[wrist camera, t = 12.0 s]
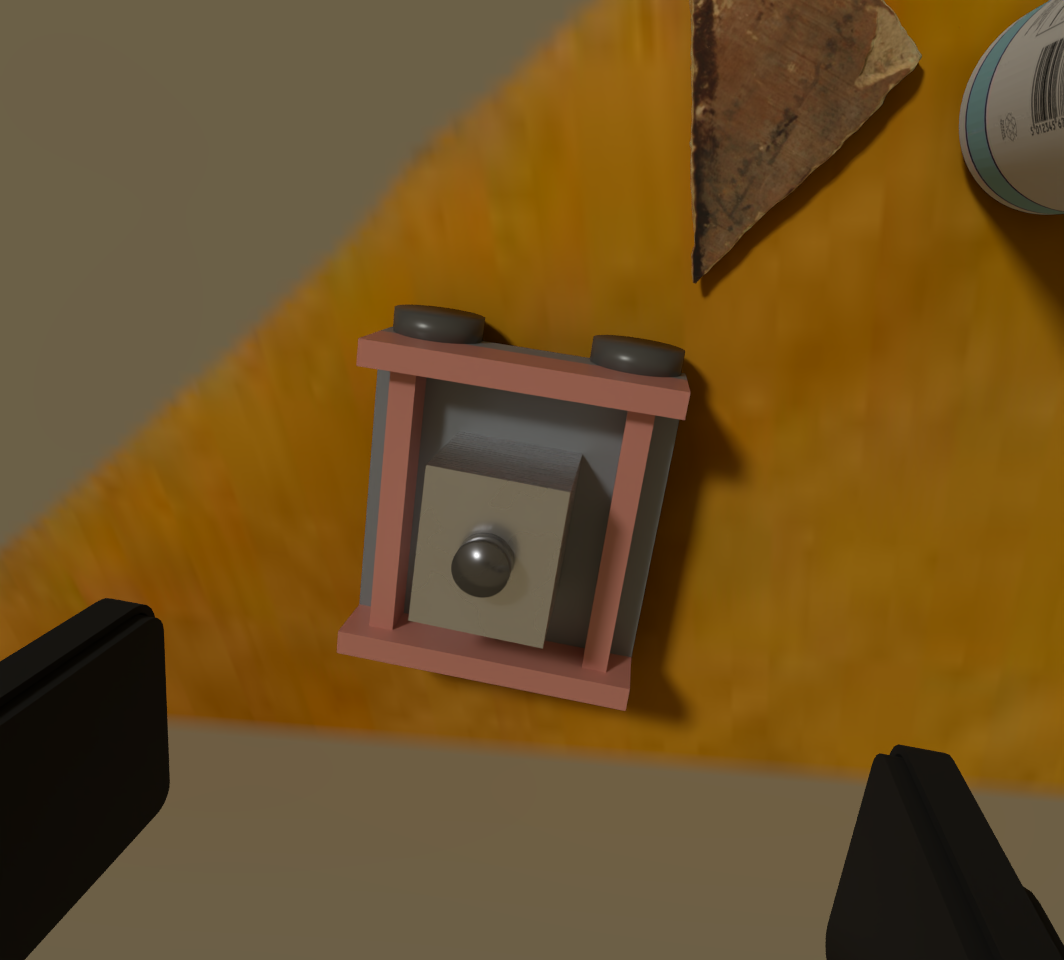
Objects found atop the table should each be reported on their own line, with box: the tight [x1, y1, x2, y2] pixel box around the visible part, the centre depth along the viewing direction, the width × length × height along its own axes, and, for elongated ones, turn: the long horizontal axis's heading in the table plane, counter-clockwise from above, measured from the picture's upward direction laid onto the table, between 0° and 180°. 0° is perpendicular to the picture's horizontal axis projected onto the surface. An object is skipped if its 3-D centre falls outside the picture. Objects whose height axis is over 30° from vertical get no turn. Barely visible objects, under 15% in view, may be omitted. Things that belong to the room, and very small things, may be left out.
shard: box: [689, 0, 922, 283], centre depth 29 cm, size 11×8×2 cm
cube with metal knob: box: [408, 431, 582, 649], centre depth 29 cm, size 5×6×6 cm
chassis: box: [337, 305, 691, 711], centre depth 33 cm, size 12×15×6 cm
